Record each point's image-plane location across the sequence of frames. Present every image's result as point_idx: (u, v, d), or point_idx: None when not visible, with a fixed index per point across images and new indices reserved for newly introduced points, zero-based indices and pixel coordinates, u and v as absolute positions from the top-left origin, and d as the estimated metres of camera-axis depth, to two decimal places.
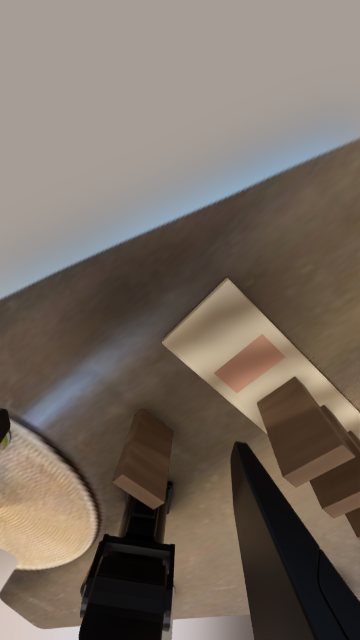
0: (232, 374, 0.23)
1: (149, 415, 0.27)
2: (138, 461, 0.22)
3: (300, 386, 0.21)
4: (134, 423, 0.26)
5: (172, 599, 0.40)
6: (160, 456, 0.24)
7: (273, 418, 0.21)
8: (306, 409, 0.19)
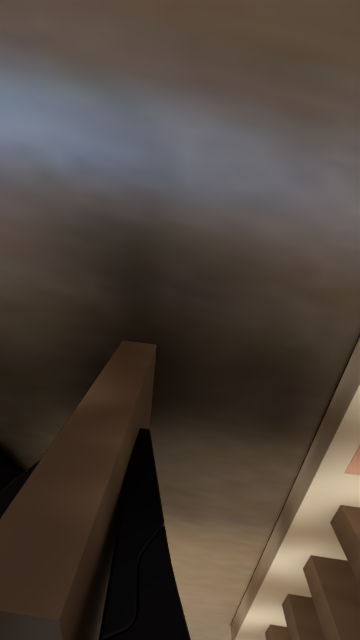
0: None
1: (153, 368, 0.11)
2: (110, 512, 0.05)
3: None
4: (125, 361, 0.09)
5: None
6: None
7: None
8: None
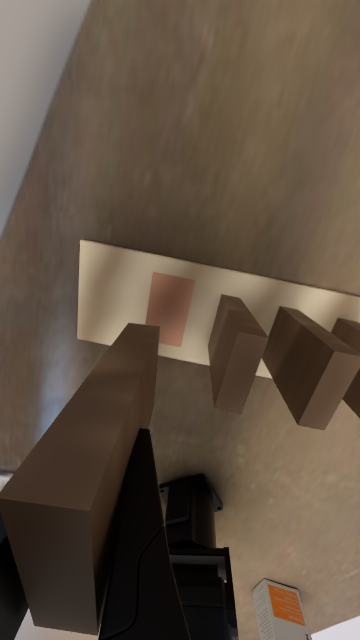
0: (160, 330, 0.20)
1: (157, 348, 0.11)
2: (122, 457, 0.06)
3: (223, 300, 0.17)
4: (132, 338, 0.10)
5: (299, 604, 0.34)
6: None
7: (212, 351, 0.17)
8: (224, 319, 0.15)
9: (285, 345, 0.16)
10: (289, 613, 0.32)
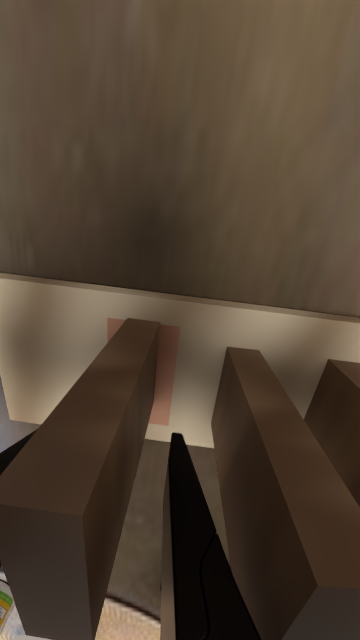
0: None
1: (157, 345, 0.11)
2: (120, 457, 0.06)
3: (233, 366, 0.10)
4: (131, 334, 0.09)
5: None
6: (135, 455, 0.08)
7: (222, 459, 0.10)
8: (244, 426, 0.07)
9: (356, 450, 0.09)
10: None
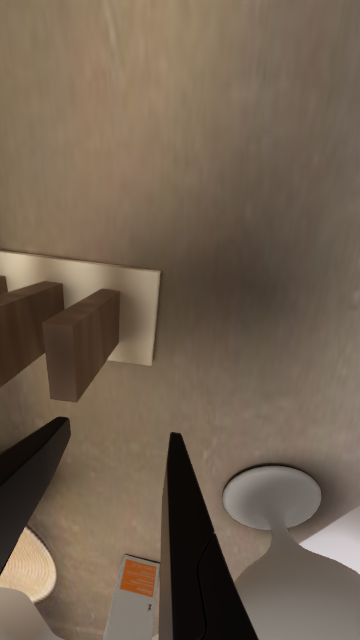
0: None
1: None
2: None
3: None
4: None
5: (155, 577, 0.34)
6: None
7: None
8: None
9: None
10: (139, 586, 0.33)
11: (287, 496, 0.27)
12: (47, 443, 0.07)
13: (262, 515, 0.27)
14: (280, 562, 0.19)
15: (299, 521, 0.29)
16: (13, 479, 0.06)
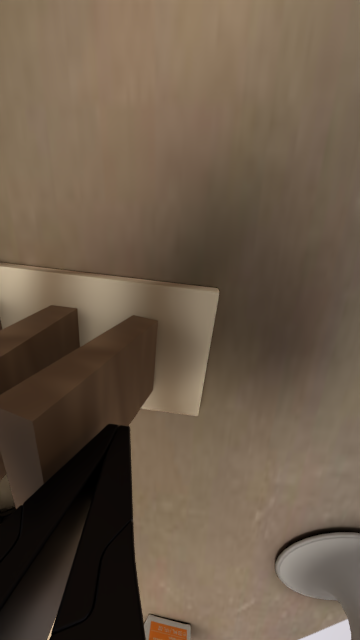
0: None
1: None
2: None
3: None
4: None
5: None
6: None
7: None
8: None
9: None
10: None
11: None
12: (106, 451, 0.07)
13: (331, 592, 0.21)
14: None
15: None
16: (83, 489, 0.06)
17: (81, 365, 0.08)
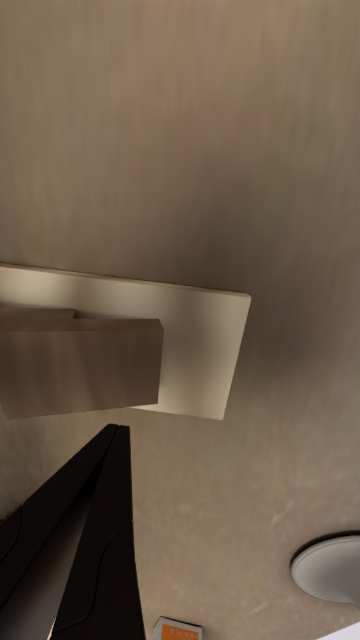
0: None
1: None
2: None
3: None
4: None
5: None
6: None
7: None
8: None
9: None
10: None
11: None
12: (106, 451, 0.07)
13: (347, 595, 0.21)
14: None
15: None
16: (83, 489, 0.06)
17: (52, 326, 0.11)
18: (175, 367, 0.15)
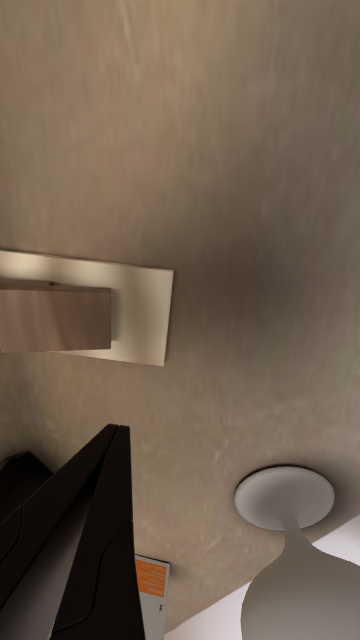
0: None
1: None
2: None
3: None
4: None
5: (165, 577, 0.34)
6: None
7: None
8: None
9: None
10: (149, 586, 0.33)
11: (300, 497, 0.26)
12: (106, 451, 0.07)
13: (275, 516, 0.27)
14: (297, 565, 0.18)
15: (312, 522, 0.28)
16: (83, 489, 0.06)
17: (33, 288, 0.17)
18: (125, 324, 0.20)
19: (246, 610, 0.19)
